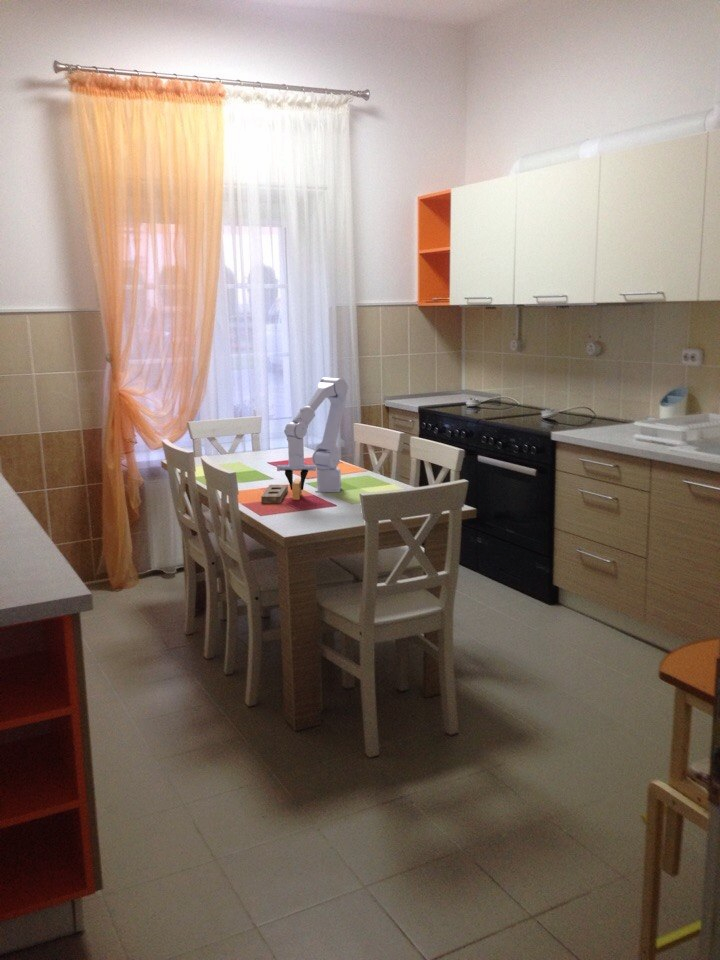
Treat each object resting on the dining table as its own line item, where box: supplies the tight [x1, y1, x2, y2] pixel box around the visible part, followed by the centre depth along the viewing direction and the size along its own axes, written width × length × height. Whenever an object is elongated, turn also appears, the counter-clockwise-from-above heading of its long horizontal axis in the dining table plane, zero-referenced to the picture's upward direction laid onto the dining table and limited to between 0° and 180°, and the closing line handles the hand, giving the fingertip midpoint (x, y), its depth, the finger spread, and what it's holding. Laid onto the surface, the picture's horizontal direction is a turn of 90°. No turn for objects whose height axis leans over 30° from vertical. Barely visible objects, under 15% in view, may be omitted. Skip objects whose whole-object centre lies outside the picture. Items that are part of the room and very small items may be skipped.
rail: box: [260, 484, 289, 504], centre depth 314 cm, size 7×20×2 cm, turn 177°
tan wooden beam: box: [291, 478, 303, 501], centre depth 313 cm, size 2×10×6 cm, turn 177°
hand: (297, 489), depth 313 cm, fingers open, 3 cm apart
